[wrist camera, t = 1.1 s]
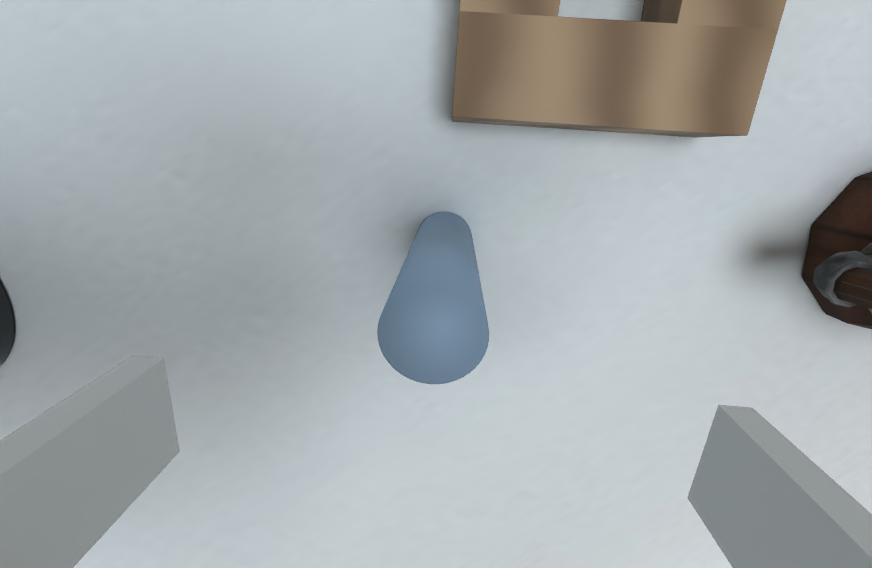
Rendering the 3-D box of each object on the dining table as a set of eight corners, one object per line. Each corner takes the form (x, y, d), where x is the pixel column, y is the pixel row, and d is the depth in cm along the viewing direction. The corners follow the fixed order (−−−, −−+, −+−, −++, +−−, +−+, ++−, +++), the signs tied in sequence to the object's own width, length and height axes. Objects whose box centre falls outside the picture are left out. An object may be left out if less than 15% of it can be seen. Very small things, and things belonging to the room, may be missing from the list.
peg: (415, 263, 31) (376, 379, 15) (418, 209, 29) (378, 278, 14) (469, 267, 30) (483, 388, 15) (474, 213, 29) (494, 287, 14)
